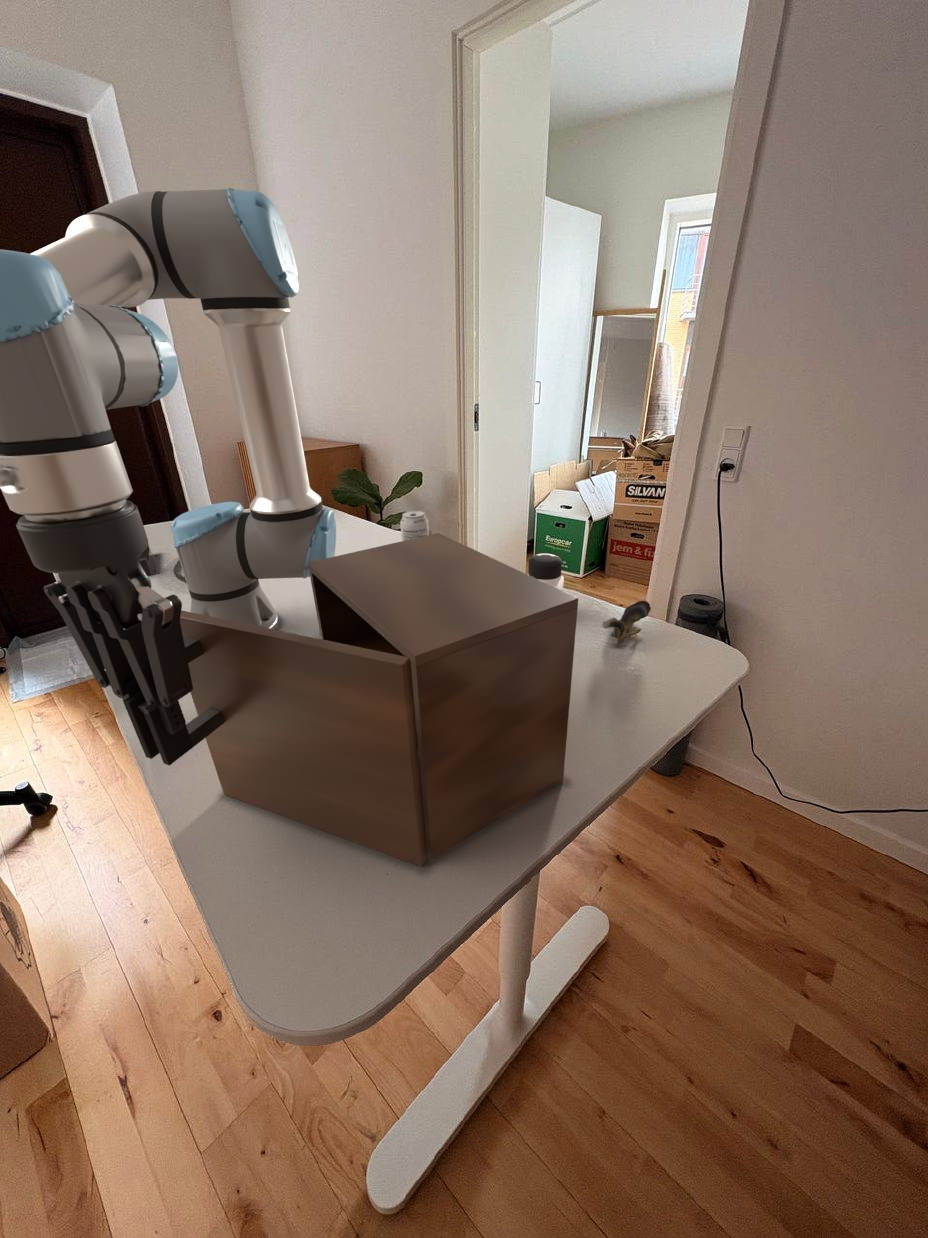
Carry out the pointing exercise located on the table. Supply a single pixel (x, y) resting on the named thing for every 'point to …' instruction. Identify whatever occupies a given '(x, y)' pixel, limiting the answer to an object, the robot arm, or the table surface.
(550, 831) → the table surface
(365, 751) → the cupboard door
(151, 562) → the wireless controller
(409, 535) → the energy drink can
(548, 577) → the medicine bottle
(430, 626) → the cupboard
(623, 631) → the grey-brown animal figure
